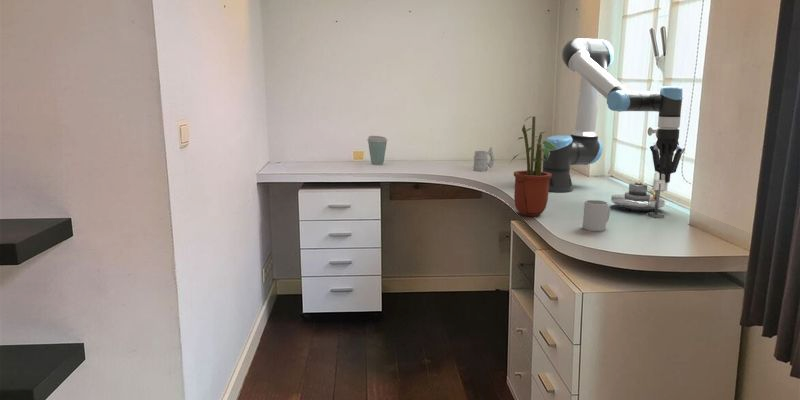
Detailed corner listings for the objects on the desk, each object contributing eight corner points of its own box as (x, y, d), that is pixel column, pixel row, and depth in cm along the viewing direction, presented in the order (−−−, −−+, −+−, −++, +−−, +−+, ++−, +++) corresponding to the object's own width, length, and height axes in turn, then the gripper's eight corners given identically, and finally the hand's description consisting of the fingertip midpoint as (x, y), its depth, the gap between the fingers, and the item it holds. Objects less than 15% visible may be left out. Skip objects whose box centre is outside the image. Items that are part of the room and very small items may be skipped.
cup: (577, 227, 201) (579, 201, 199) (599, 224, 206) (601, 198, 204) (594, 232, 195) (597, 205, 193) (616, 229, 200) (618, 202, 198)
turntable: (632, 209, 221) (634, 186, 219) (600, 198, 238) (602, 177, 237) (675, 207, 226) (678, 184, 225) (641, 197, 244) (644, 176, 242)
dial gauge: (653, 217, 218) (657, 180, 216) (644, 213, 224) (648, 178, 222) (664, 217, 219) (668, 180, 217) (654, 213, 225) (658, 178, 222)
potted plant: (541, 220, 210) (548, 117, 203) (499, 214, 218) (504, 115, 211) (557, 211, 224) (564, 115, 217) (517, 206, 232) (523, 113, 225)
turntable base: (631, 212, 227) (631, 206, 226) (615, 205, 237) (616, 200, 237) (658, 211, 228) (658, 206, 228) (641, 205, 239) (642, 200, 239)
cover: (634, 201, 227) (635, 185, 226) (619, 196, 235) (621, 181, 234) (654, 200, 229) (656, 184, 228) (639, 196, 238) (641, 180, 237)
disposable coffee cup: (390, 163, 334) (391, 136, 332) (379, 166, 326) (379, 137, 323) (374, 162, 340) (375, 135, 337) (363, 164, 331) (363, 136, 328)
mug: (470, 169, 321) (471, 146, 319) (489, 168, 326) (490, 146, 323) (477, 171, 314) (478, 148, 312) (497, 171, 319) (498, 148, 316)
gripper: (690, 128, 224) (685, 192, 229) (658, 127, 235) (654, 187, 239) (679, 129, 220) (673, 194, 224) (647, 127, 230) (642, 189, 235)
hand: (663, 190), depth 232 cm, fingers closed
